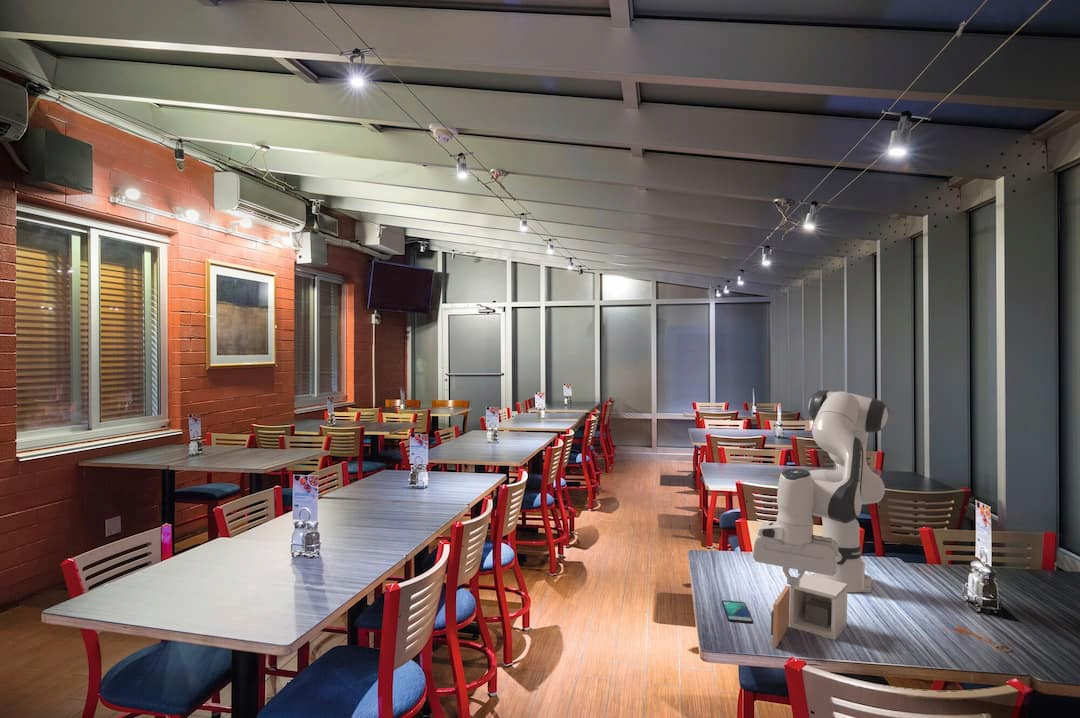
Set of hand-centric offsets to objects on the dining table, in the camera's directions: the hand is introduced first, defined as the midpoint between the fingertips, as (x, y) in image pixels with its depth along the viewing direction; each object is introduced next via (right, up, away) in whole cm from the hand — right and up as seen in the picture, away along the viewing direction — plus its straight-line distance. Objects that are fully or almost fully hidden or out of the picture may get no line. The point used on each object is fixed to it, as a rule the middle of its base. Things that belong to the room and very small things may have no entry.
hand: (793, 584), depth 155 cm
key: (+55, -19, +8) cm, 59 cm away
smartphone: (-7, -18, +23) cm, 30 cm away
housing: (+13, -17, +14) cm, 26 cm away
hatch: (0, -16, +7) cm, 18 cm away
